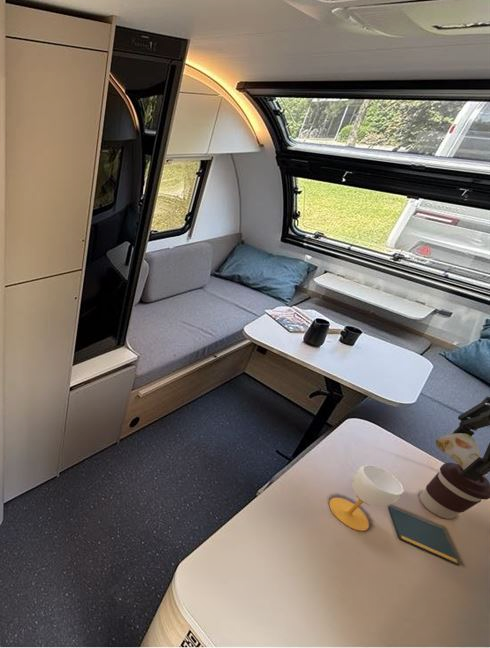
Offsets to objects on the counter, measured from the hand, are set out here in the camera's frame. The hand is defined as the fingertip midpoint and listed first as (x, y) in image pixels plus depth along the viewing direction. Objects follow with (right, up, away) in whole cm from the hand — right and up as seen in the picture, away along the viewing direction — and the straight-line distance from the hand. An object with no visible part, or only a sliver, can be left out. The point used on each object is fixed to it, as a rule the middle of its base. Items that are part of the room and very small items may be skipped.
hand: (458, 461), depth 91 cm
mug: (0, 0, 0) cm, 0 cm away
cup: (-22, -18, +7) cm, 29 cm away
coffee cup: (+7, -18, +12) cm, 23 cm away
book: (-5, -21, +4) cm, 22 cm away
